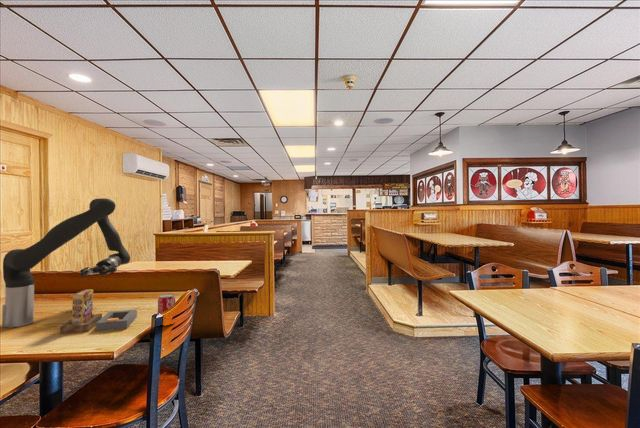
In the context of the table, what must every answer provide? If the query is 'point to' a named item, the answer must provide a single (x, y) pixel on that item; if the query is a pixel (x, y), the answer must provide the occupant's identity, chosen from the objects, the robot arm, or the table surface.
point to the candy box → (82, 306)
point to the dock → (116, 320)
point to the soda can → (165, 302)
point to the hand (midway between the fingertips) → (92, 274)
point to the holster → (80, 325)
